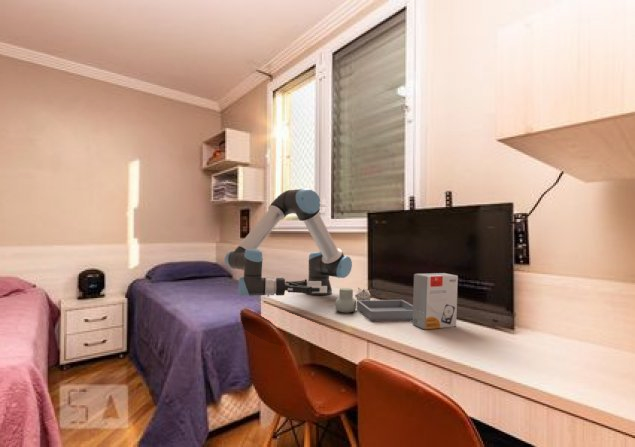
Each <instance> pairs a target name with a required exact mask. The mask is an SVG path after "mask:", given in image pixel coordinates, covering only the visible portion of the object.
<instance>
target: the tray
mask: <svg viewBox="0 0 635 447" xmlns="http://www.w3.org/2000/svg"><path fill="white" fill-rule="evenodd" d="M356 310H357V311H358V312H359V313H360V314H362V315H363V316H364V317H365V318H366V319H367V320H369V321H370V322H397V321H398V322H400V321H401V322H403V321H413V304H411V303H410V302H408V301H405V300H404V299H373V300H372V299H370V300H360V301H358V300H356Z"/></svg>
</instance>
